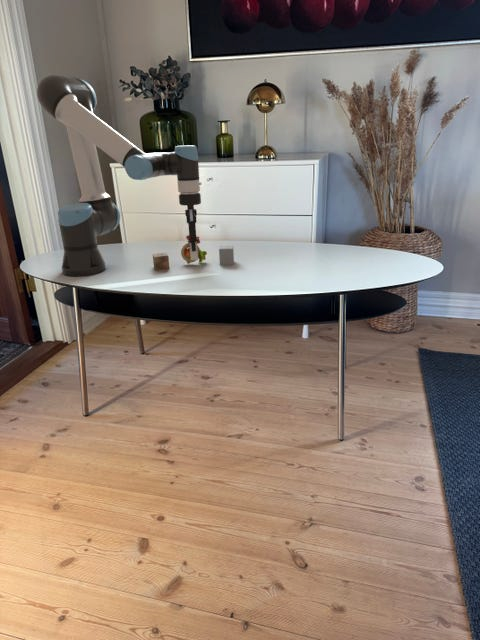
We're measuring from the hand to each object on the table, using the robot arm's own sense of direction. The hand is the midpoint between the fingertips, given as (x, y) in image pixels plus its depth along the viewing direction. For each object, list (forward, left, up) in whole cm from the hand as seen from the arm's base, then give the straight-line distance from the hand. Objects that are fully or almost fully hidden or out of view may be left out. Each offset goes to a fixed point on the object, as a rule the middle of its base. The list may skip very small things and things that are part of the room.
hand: (194, 259), depth 174 cm
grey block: (+12, +2, -3) cm, 12 cm away
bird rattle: (0, +3, -2) cm, 4 cm away
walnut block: (-12, +1, -3) cm, 12 cm away
